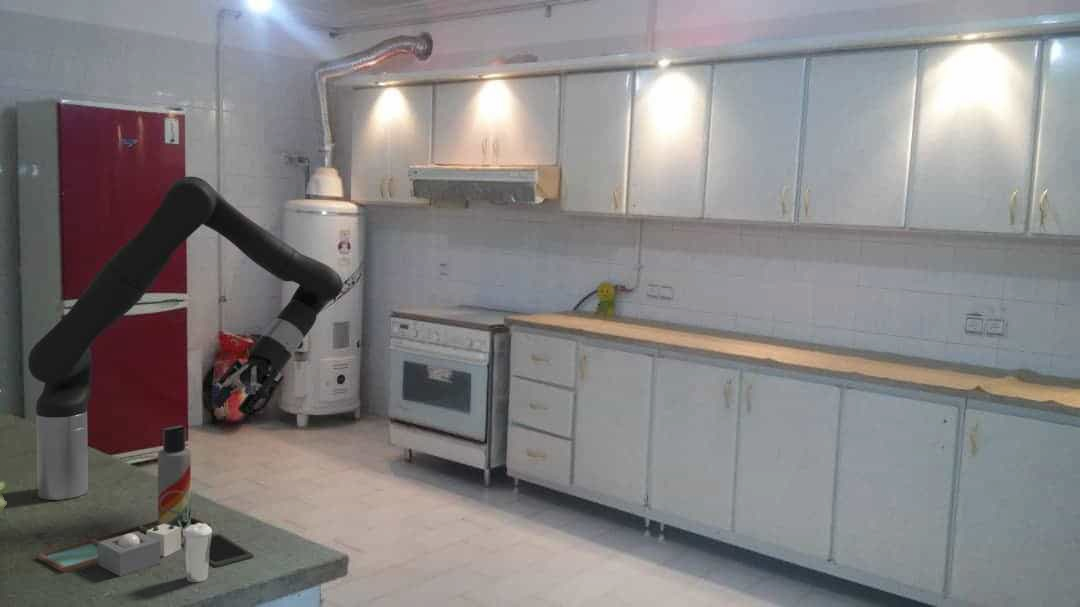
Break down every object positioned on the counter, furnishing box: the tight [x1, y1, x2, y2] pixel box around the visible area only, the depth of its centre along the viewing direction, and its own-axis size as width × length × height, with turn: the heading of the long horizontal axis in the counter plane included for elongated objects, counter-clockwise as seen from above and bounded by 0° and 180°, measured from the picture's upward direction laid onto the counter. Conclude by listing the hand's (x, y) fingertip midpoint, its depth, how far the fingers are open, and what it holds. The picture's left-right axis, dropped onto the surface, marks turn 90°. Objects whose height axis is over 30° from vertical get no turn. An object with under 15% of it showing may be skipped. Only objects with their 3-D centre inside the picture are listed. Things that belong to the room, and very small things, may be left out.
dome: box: [118, 533, 140, 548], centre depth 150 cm, size 3×3×5 cm
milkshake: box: [178, 520, 213, 583], centre depth 146 cm, size 4×5×10 cm
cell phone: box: [181, 533, 255, 568], centre depth 158 cm, size 7×14×1 cm, turn 46°
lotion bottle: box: [157, 424, 192, 532], centre depth 166 cm, size 6×6×20 cm
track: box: [37, 515, 212, 574], centre depth 160 cm, size 9×28×1 cm, turn 144°
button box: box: [97, 531, 161, 577], centre depth 150 cm, size 7×7×4 cm
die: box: [145, 524, 182, 558], centre depth 157 cm, size 4×4×5 cm
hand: (228, 409), depth 174 cm, fingers open, 8 cm apart
